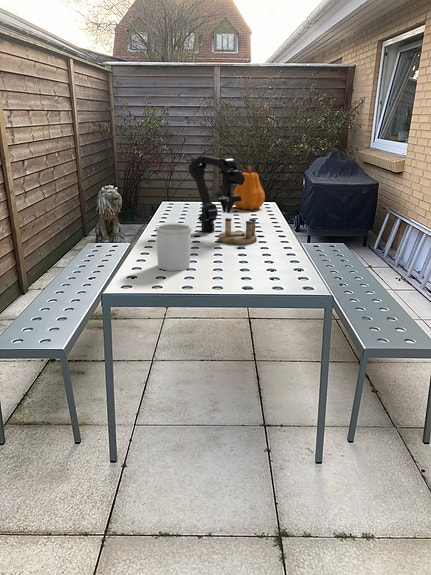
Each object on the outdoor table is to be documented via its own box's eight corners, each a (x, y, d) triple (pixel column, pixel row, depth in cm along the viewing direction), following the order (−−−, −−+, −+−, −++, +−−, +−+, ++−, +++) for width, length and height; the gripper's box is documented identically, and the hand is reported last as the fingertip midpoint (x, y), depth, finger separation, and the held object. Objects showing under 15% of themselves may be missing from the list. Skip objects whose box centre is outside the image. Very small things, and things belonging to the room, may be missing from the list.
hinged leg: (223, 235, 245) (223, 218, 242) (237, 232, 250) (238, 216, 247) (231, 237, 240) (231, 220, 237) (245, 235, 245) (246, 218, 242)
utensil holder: (173, 259, 211) (173, 221, 205) (198, 265, 202) (198, 226, 196) (149, 266, 200) (148, 226, 194) (174, 273, 191) (173, 232, 185)
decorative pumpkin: (228, 205, 345) (229, 164, 335) (259, 205, 350) (261, 164, 339) (235, 211, 324) (236, 167, 314) (268, 210, 328) (270, 167, 318)
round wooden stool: (211, 238, 249) (211, 217, 245) (240, 234, 260) (241, 214, 256) (234, 246, 233) (234, 224, 230) (264, 241, 244) (265, 220, 241)
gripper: (204, 182, 247) (204, 211, 253) (225, 186, 233) (224, 217, 238) (221, 180, 253) (220, 209, 259) (242, 184, 239) (241, 214, 244)
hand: (226, 212), depth 250 cm, fingers open, 3 cm apart
